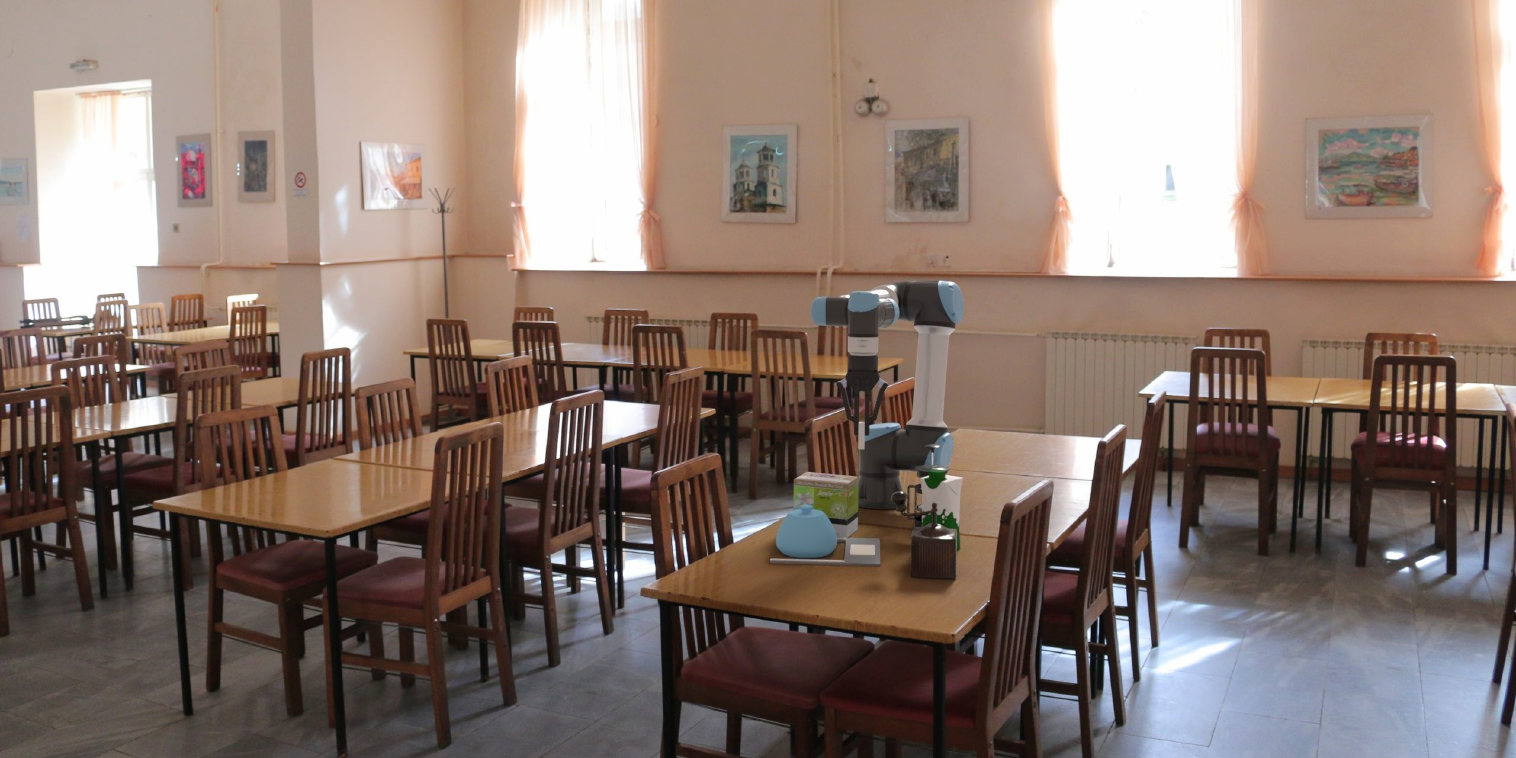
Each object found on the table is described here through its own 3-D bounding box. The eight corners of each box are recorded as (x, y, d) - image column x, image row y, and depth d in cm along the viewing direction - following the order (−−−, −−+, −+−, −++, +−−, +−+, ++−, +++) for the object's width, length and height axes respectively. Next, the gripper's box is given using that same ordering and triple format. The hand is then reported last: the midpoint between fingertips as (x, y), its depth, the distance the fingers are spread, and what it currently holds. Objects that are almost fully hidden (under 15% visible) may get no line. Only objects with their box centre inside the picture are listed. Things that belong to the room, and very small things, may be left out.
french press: (955, 528, 307) (957, 443, 304) (947, 537, 298) (949, 449, 295) (912, 524, 311) (913, 440, 308) (902, 533, 302) (904, 446, 299)
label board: (777, 538, 298) (777, 535, 298) (879, 540, 295) (879, 537, 295) (769, 563, 275) (769, 560, 275) (880, 566, 273) (880, 563, 273)
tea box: (792, 533, 302) (792, 478, 300) (805, 524, 312) (805, 470, 310) (847, 539, 297) (847, 482, 295) (859, 530, 306) (859, 475, 304)
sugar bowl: (805, 540, 296) (805, 495, 295) (849, 551, 286) (849, 505, 284) (763, 551, 286) (763, 505, 284) (807, 563, 275) (808, 515, 274)
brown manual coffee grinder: (957, 566, 272) (958, 491, 270) (956, 580, 261) (957, 502, 259) (890, 563, 275) (891, 488, 273) (887, 576, 264) (888, 499, 262)
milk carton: (915, 549, 287) (916, 469, 285) (936, 542, 294) (937, 464, 291) (945, 555, 281) (946, 474, 279) (966, 548, 288) (967, 469, 285)
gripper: (835, 354, 283) (834, 450, 286) (889, 355, 282) (887, 451, 284) (837, 352, 291) (835, 445, 293) (889, 353, 289) (887, 446, 292)
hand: (861, 448), depth 289 cm, fingers closed
